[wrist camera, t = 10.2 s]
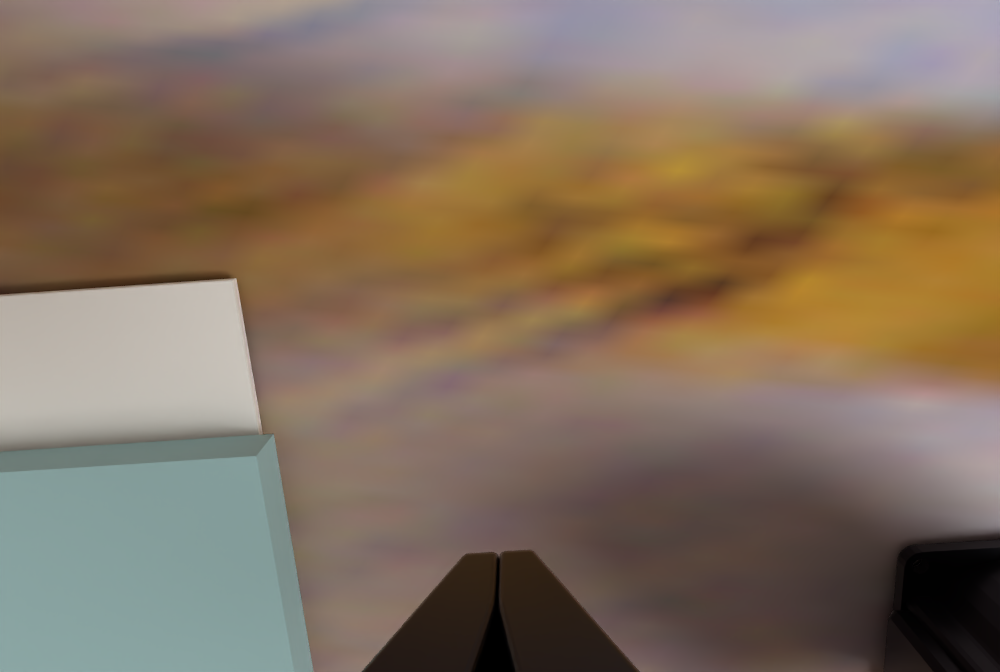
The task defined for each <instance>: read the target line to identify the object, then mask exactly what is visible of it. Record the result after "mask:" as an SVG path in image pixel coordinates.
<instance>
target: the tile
mask: <svg viewBox="0 0 1000 672" xmlns="http://www.w3.org/2000/svg"><path fill="white" fill-rule="evenodd" d="M0 672H313V666H312V660H311V654H310V648H309V642H308V636H307V630H306V624H305V618H304V612H303V606H302V600H301V594H300V588H299V582H298V576H297V570H296V564H295V558H294V552H293V547H292V541H291V535H290V529H289V523H288V517H287V511H286V505H285V499H284V493H283V487H282V481H281V475H280V469H279V463H278V457H277V451H276V445H275V439H274V434H262V435H247V436H232V437H217V438H201V439H186V440H171V441H156V442H140V443H125V444H110V445H95V446H80V447H64V448H49V449H34V450H19V451H3V452H0Z"/></svg>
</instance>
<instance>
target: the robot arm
mask: <svg viewBox="0 0 1000 672" xmlns="http://www.w3.org/2000/svg"><path fill="white" fill-rule="evenodd" d="M920 559H922V560H921V562H920V563H919V564H918V565H916V566H913V564H914V563H915V562H916V561H917V560H920ZM362 672H640V671H639V670H638V669H637V668H636V667H635V666H634V665H633V664H632V662H631V661H630V660H629V659H628V658H627V657H626V656H625V654H624V653H623V652H622V651H621V650H620V649H619V648H618V646H617V645H616V644H615V643H614V642H613V641H612V640H611V638H610V637H609V636H608V635H607V634H606V633H605V632H604V631H603V629H602V628H601V627H600V626H599V625H598V624H597V623H596V621H595V620H594V619H593V618H592V617H591V616H590V615H589V613H588V612H587V611H586V610H585V609H584V608H583V607H582V606H581V604H580V603H579V602H578V601H577V600H576V599H575V598H574V596H573V595H572V594H571V593H570V592H569V591H568V590H567V588H566V587H565V586H564V585H563V584H562V583H561V582H560V580H559V579H558V578H557V577H556V576H555V575H554V574H553V573H552V571H551V570H550V569H549V568H548V567H547V566H546V565H545V563H544V562H543V561H542V560H541V559H540V558H539V557H538V555H537V554H536V553H535V552H534V551H532V550H517V551H504V552H502V553H501V554H500V556H498V555H497V554H496V553H494V552H484V553H468V554H465V555H464V556H463V557H462V558H461V559H460V560H459V561H458V562H457V564H456V565H455V566H454V567H453V568H452V569H451V570H450V572H449V573H448V574H447V575H446V576H445V577H444V578H443V580H442V581H441V582H440V583H439V584H438V585H437V586H436V588H435V589H434V590H433V591H432V592H431V593H430V594H429V596H428V597H427V598H426V599H425V600H424V601H423V602H422V603H421V605H420V606H419V607H418V608H417V609H416V610H415V611H414V613H413V614H412V615H411V616H410V617H409V618H408V619H407V621H406V622H405V623H404V624H403V625H402V626H401V627H400V629H399V630H398V631H397V632H396V633H395V634H394V635H393V637H392V638H391V639H390V640H389V641H388V642H387V643H386V645H385V646H384V647H383V648H382V649H381V650H380V651H379V653H378V654H377V655H376V656H375V657H374V658H373V659H372V661H371V662H370V663H369V664H368V665H367V666H366V667H365V669H364V670H363V671H362ZM884 672H1000V540H987V541H970V542H954V543H937V544H921V545H912V546H908V547H907V548H905V549H904V550H902V552H901V553H900V554H899V557H898V560H897V571H896V582H895V594H894V606H893V611H892V613H891V615H890V616H889V618H888V629H887V641H886V652H885V664H884Z"/></svg>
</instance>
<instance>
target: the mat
mask: <svg viewBox="0 0 1000 672" xmlns="http://www.w3.org/2000/svg"><path fill="white" fill-rule="evenodd" d="M262 434H263V431H262V425H261V420H260V414H259V408H258V402H257V396H256V390H255V385H254V379H253V373H252V367H251V361H250V355H249V350H248V344H247V338H246V332H245V326H244V320H243V315H242V309H241V303H240V297H239V291H238V285H237V280H236V278H231V279H217V280H203V281H188V282H174V283H160V284H146V285H131V286H117V287H103V288H89V289H75V290H60V291H46V292H32V293H18V294H3V295H0V452H3V451H19V450H34V449H49V448H64V447H80V446H95V445H110V444H125V443H140V442H156V441H171V440H186V439H201V438H217V437H232V436H247V435H262Z"/></svg>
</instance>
